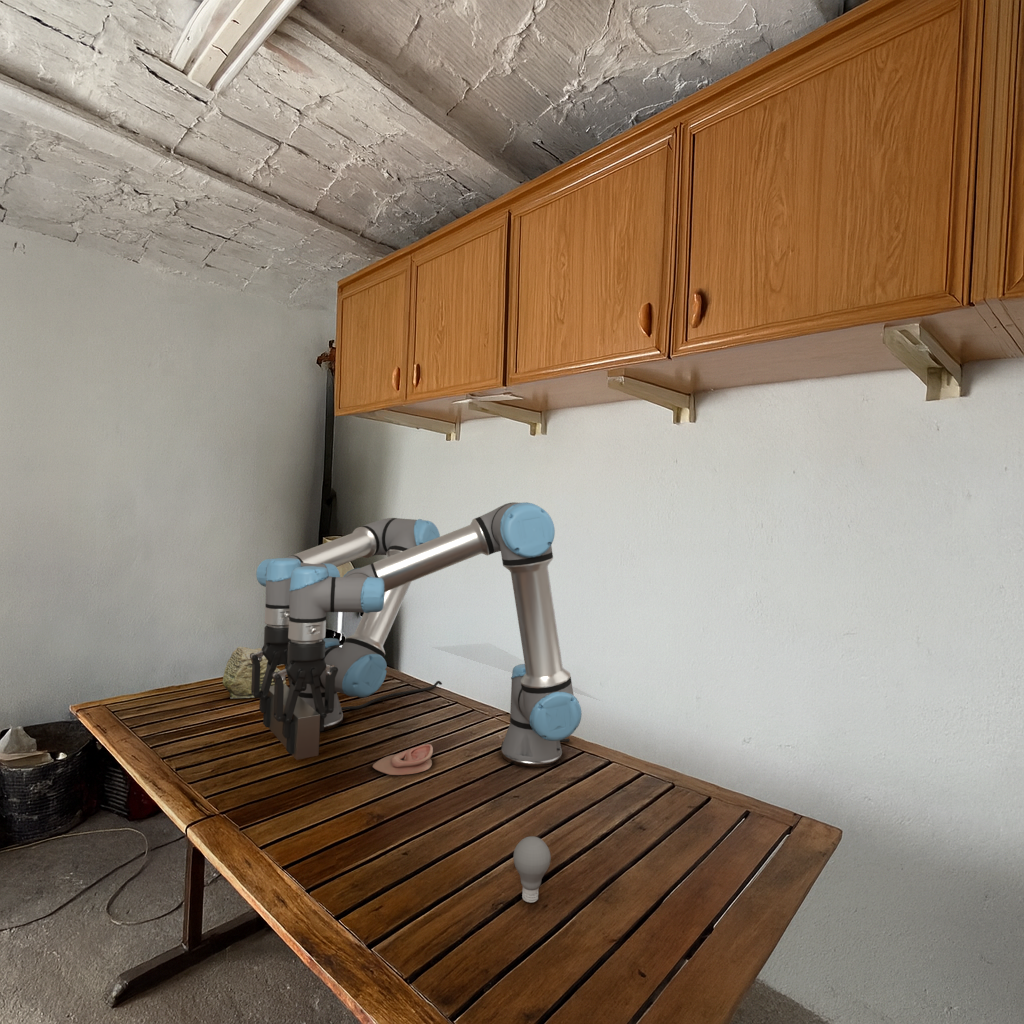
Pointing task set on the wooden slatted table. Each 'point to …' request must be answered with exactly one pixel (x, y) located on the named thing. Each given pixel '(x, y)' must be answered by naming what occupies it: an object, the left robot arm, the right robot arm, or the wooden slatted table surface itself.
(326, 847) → the wooden slatted table surface
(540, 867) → the light bulb
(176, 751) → the wooden slatted table surface
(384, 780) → the wooden slatted table surface
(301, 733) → the bar
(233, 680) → the fossil
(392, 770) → the anatomical model
